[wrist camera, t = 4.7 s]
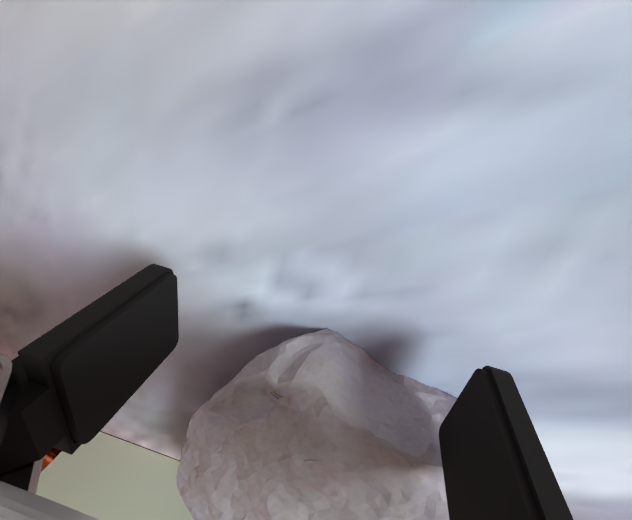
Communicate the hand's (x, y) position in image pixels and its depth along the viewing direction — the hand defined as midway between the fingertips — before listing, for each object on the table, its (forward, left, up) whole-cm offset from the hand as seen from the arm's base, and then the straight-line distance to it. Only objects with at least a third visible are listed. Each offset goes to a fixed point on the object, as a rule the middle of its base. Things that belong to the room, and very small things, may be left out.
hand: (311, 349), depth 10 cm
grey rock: (+7, +1, -2) cm, 7 cm away
